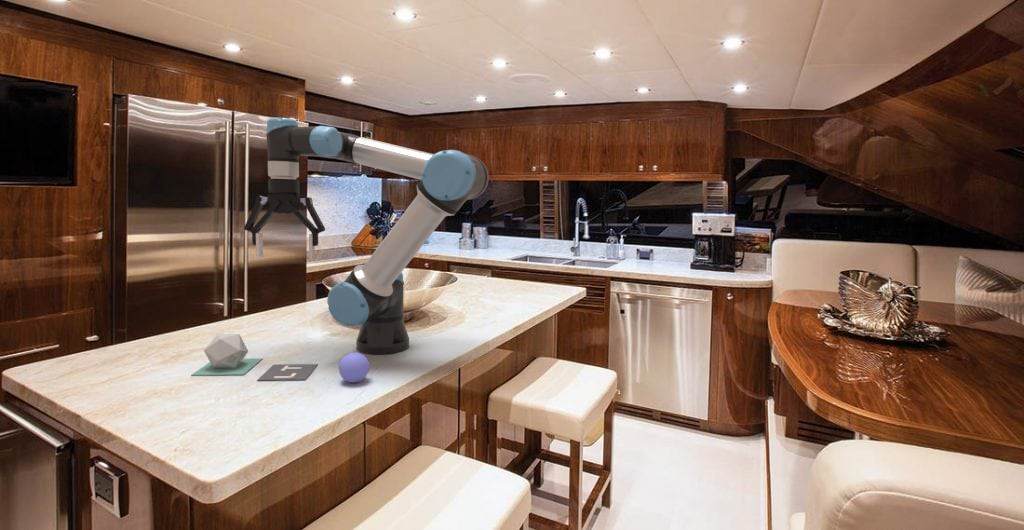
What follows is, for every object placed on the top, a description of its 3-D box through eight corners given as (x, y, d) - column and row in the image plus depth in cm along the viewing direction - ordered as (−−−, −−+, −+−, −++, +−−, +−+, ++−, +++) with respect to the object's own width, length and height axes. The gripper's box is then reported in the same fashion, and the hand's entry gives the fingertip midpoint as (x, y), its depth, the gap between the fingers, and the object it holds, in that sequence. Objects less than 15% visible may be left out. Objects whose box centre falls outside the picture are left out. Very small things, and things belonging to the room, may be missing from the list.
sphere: (369, 375, 125) (369, 348, 124) (369, 385, 119) (369, 357, 118) (339, 377, 123) (339, 349, 123) (337, 387, 117) (337, 358, 116)
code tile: (317, 365, 131) (317, 364, 131) (305, 380, 121) (305, 379, 121) (273, 365, 130) (273, 364, 130) (257, 381, 119) (257, 379, 119)
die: (220, 377, 122) (247, 342, 124) (189, 357, 122) (217, 322, 125) (235, 377, 130) (260, 344, 133) (206, 359, 130) (232, 326, 133)
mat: (262, 359, 135) (262, 358, 135) (244, 375, 123) (243, 374, 123) (214, 359, 133) (214, 358, 133) (191, 375, 121) (191, 374, 121)
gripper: (335, 180, 140) (336, 256, 143) (240, 177, 137) (243, 255, 140) (328, 179, 132) (330, 259, 135) (228, 176, 129) (231, 258, 132)
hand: (286, 257), depth 137 cm, fingers open, 13 cm apart
